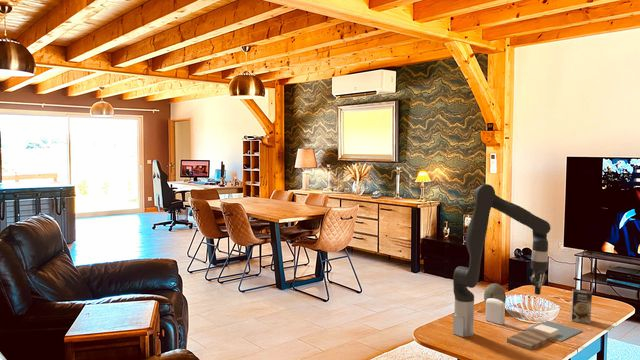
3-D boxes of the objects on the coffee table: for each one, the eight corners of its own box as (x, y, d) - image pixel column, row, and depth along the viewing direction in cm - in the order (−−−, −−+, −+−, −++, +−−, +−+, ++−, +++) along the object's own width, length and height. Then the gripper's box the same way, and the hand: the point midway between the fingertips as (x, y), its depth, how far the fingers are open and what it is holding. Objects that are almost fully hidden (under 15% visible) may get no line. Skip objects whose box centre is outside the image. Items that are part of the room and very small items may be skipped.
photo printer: (483, 320, 277) (484, 297, 276) (488, 318, 280) (489, 296, 279) (501, 325, 269) (502, 302, 268) (505, 323, 272) (506, 300, 271)
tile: (550, 338, 251) (550, 333, 251) (532, 332, 259) (532, 327, 258) (558, 334, 256) (558, 329, 256) (541, 329, 263) (541, 324, 263)
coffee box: (571, 321, 276) (572, 291, 275) (570, 317, 282) (571, 288, 281) (590, 323, 273) (592, 293, 271) (589, 319, 278) (590, 290, 277)
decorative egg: (502, 314, 287) (503, 287, 286) (481, 310, 293) (481, 284, 292) (507, 308, 297) (508, 282, 296) (486, 304, 303) (487, 279, 302)
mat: (560, 341, 248) (560, 340, 248) (523, 330, 263) (523, 329, 263) (582, 331, 262) (582, 330, 262) (546, 321, 277) (546, 320, 276)
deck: (530, 350, 238) (530, 346, 238) (506, 342, 247) (507, 338, 247) (552, 340, 250) (552, 335, 250) (529, 332, 260) (529, 328, 259)
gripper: (539, 262, 250) (537, 298, 251) (553, 259, 258) (551, 294, 259) (525, 259, 256) (523, 294, 257) (539, 257, 264) (537, 290, 265)
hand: (537, 294), depth 258 cm, fingers closed
